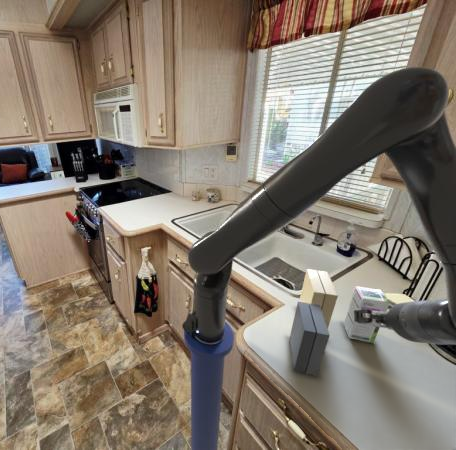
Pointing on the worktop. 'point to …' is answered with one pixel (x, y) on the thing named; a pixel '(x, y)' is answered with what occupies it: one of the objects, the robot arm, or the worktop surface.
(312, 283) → the cream cookbooks
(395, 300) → the stacked layers on plate
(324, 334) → the grey books
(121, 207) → the worktop surface
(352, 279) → the worktop surface
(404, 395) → the worktop surface
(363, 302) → the syrup box
